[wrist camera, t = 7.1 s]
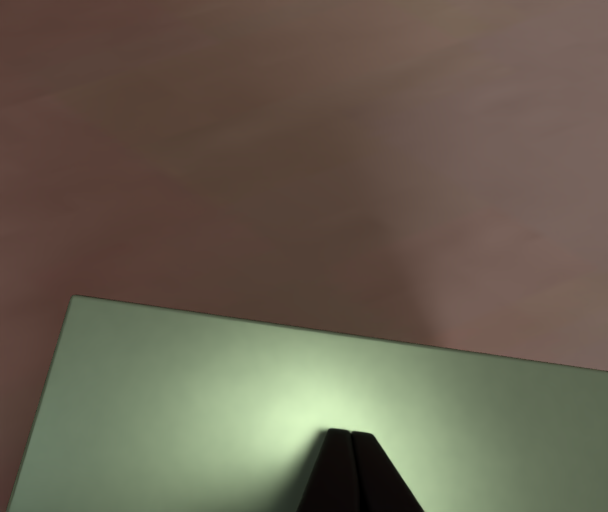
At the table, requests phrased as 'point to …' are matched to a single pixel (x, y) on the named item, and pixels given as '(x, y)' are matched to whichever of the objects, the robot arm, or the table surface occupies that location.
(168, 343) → the lid
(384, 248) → the table surface
